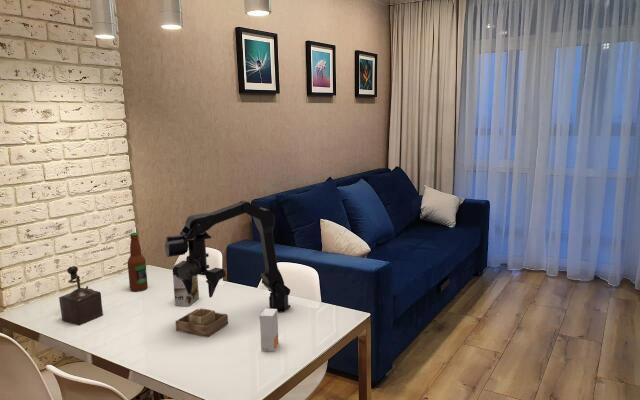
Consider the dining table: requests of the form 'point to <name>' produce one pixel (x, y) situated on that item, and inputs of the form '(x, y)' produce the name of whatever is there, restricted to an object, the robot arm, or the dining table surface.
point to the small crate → (202, 317)
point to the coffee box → (185, 291)
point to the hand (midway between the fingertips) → (200, 295)
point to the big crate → (202, 330)
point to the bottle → (136, 266)
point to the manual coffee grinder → (80, 302)
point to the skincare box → (269, 329)
